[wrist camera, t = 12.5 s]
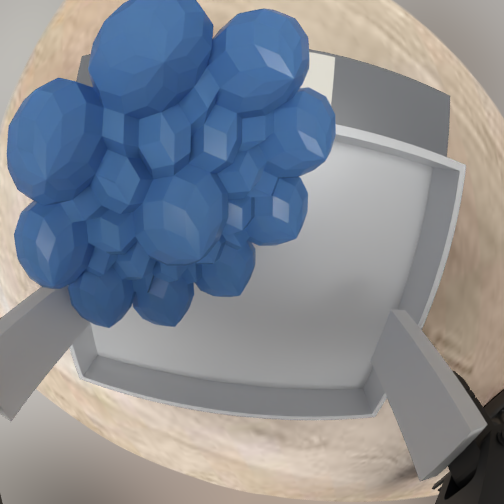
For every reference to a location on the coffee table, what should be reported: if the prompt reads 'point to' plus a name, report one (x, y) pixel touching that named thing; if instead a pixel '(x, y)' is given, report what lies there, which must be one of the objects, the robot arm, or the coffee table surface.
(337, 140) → the scale
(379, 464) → the coffee table surface
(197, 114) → the grapes
